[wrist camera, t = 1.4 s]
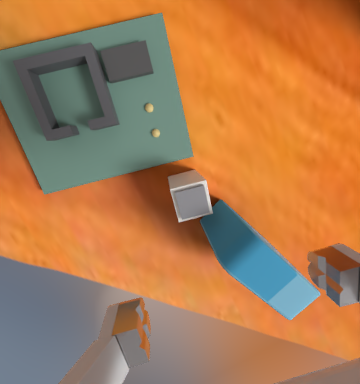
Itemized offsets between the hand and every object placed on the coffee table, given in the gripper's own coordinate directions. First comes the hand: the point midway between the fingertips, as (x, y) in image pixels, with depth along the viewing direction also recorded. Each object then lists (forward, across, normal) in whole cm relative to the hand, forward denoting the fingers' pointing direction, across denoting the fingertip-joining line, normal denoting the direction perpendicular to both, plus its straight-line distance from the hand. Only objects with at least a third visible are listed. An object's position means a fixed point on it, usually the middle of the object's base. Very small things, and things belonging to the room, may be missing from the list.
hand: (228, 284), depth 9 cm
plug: (+20, 0, 0) cm, 20 cm away
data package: (+20, -7, +9) cm, 23 cm away
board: (+20, +8, -12) cm, 24 cm away
